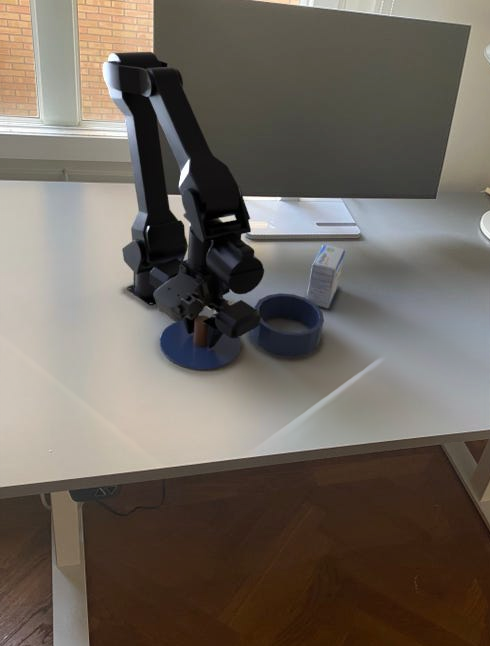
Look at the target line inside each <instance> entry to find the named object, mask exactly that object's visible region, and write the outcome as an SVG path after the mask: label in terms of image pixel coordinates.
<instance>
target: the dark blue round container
mask: <svg viewBox="0 0 490 646" xmlns="http://www.w3.org/2000/svg"><path fill="white" fill-rule="evenodd" d="M253 308H255V309H256V310H258V311H259V312H260V313H261V319H260V326H258V327H256V328H254V329H252V330H251V338H252V339H253V340H254V342H255V343H256V345H257V346H259V347H260V348H262V349H263V350H265V351H266V352H268V353H271V354H274V355H277V356H280V357H301V356H305V355H308V354H310V353H311V352H313V351H315V350H316V349H317V347H318V345H319V343H320V342H321V337H322V332H323V327H324V323H325V318H324V312H323V311H322V310H321V307H320V306H317V305H316V304H315V303H313V302H311V301H310V300H308V299H307V297H304V296H301V295H297V294H293V293H284V292H283V293H280V292H279V293H274V294H268V295H266V296H264V297H262V298H260V299H259V300H258V301H257V302H256V303H255V305H254V307H253ZM278 317H279V318H290V319H293V320H295V321H299V322H301V323H303V324H304V325H306V326H308V327H309V330H305V331H304V330H303V331H298V332H295V331H286V330H285V331H284V330H282V329H278V328H275V327H273V326H271V325H270V324H268V323H267V322H265V321H266V320H268V319H272V318H278Z"/></svg>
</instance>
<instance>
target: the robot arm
mask: <svg viewBox="0 0 490 646" xmlns="http://www.w3.org/2000/svg"><path fill="white" fill-rule="evenodd" d="M102 74H103V79H104V82H105V84H106V86H107V89H108V93H109V98H110V99H111V101H112V102H113V103H114V105H115V106H116V107H117V108H118V110H119V111H120V112H121V114H122V115H123V117H124V122H125V129H126V134H127V136H126V137H127V142H128V149H129V155H130V162H131V168H132V175H133V181H134V187H135V195H136V202H137V209H138V211H137V213H136V217H135V218H134V221H133V223H132V226H131V228H130V230H131V231H130V233H131V241H130V242H129V243H128V244H126V245H125V246H123V248H122V249H121V251H122V257H123V261H124V263H125V264H126V265H127V267H128V268H129V269H131V271H132V272H133V274H132V275H133V279H132V280H133V283H132V284H131V285H129V286H126V288H125V289H126V291H128V292H129V293H131V294H132V295H134V296H135V297H137V298H138V299H140V300H141V301H143V302H144V303H146V305H149V306H154V305H156V306H157V309H158V310H159V311H160V313H162V314H164V315H166V316H167V317H169V318H170V319H171V320H172V321H174V322H177V321H181V320H183V321H184V324H185V327H186V330H187V333H188V334H191V333H193V332H194V323H195V318H196V317H197V316H200V314H201V313H202V312H203V311H204V309H205V308H206V309H208V310H209V311H213V313H212V316H210V317H209V318H208V319H206V320H204V321H203V322H204V323H205V324H207V325H208V348H212V347H214V346H215V345H216V343H217V342H218V340H219V339H220V338H221V336H222V335H223V333H224V334H225V335H227V336H228V337H230V338H238V337H239V338H240V337H242V336H244V335H246V334H248V333H249V332H252V329H254V328H256V327H258V326H260V319H261V313H260V312H259V311H258V310H256V309H255V308H254V307H253V306H251V305H250V304H249V303H247V302H245V301H244V300H242V299H239V300H238V301H234V300H232V299H225V298H224V296H225V295H226V294H228V293H230V292H232V293H234V294H236V295H246V294H248V293H250V292H252V291H253V290H255V289H256V288H257V287H258V286H259V285H260V283H261V282H262V280H263V278H264V275H265V269H264V264H263V263H262V261H261V260H260V259H259V258H258V257H257V256H256V255H255V249H254V248H252V246H251V245H249V244H247V243H246V242H244V240H242V235H244V234H249V233H251V231H252V229H251V225H250V220H251V216H250V214H249V211H248V208H247V205H246V201H245V199H244V196H243V192H242V188H241V187H240V184H239V183H238V181H237V180H236V178H235V176H234V174H233V173H232V172H231V170H230V168H229V166H228V165H227V164H225V163H224V162H223V161H222V160H220V159H219V158H217V157H216V156H215V155H214V153H213V151H212V150H211V149H210V146H209V143H208V141H207V139H206V137H205V135H204V132H203V130H202V128H201V125H200V123H199V121H198V118H197V117H196V114H195V112H194V109H193V108H192V106H191V103H190V101H189V98H188V96H187V94H186V91H185V89H184V81H183V80H184V79H183V76H182V74H181V72H180V70H179V69H178V68H176V67H172V63H171V62H168V61H166V60H162V59H158V57H157V56H156V54H155V53H154V52H152V51H134V52H133V51H132V52H131V51H130V52H112V53H110V54H109V56H108V59H107V61H104V62H103V64H102ZM159 124H160V126H161V128H162V130H163V133H164V135H165V137H166V140H167V142H168V145H169V146H170V149H171V151H172V153H173V155H174V158H175V159H176V162H177V165H178V168H179V171H180V178H179V183H178V191H179V193H180V196H181V203H182V206H183V209H184V212H183V217H184V219H185V220H187V222H189V226H188V227H189V228H188V230H189V231H188V240H187V237H186V231H185V223H184V222H183V221H182V220H179V219H178V217H176V215H175V214H174V213H173V211H172V210H171V208H170V207H171V206H170V199H169V193H168V186H167V180H166V179H167V178H166V171H165V165H164V155H163V149H162V144H161V143H162V142H161V134H160V128H159ZM232 216H234V218H235V219H233V220H229V221H227V220H226V221H223V220H221V219H222V218H228V217H232ZM186 254H187V259H185V257H186Z"/></svg>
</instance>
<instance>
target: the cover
mask: <svg viewBox="0 0 490 646" xmlns="http://www.w3.org/2000/svg"><path fill="white" fill-rule="evenodd" d="M208 318H210V317H209V316H207V315H203V314H201V315H200V314H199V316H197V317H196V318H195V323H194V332H193V333H191V334H188V333H187V330H186V327H185V324H184V321H183V320H181V321H174V322H173V323H171V324H169V325H168V326H167V327H165V328H164V330H163V331H162V332H161V335H160V336H159V348H160V351H161V353H162V354H163V355H164V356H165V358H166V359H167V360H169V361H170V362H172V363H173V364H175V365H177V366H179V367H182V368H185V369H189V370H194V371H213V370H218V369H221V368H224V367H226V366H228V365H230V364H231V363H233V362H234V361H235V360H236V359H237V358H238V357H239V355H240V353H241V349H242V343H241V339H240V337H238V338H230V337H228V336H227V335H225V334H224V333H223V335H222V336H221V338H220V339H219V340H218V342H217V343H216V345H215V346H214V347H212V348H208V325H207V324H205V323H204V322H203V321H204V320H206V319H208Z"/></svg>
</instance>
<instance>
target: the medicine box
mask: <svg viewBox="0 0 490 646" xmlns="http://www.w3.org/2000/svg"><path fill="white" fill-rule="evenodd" d="M345 254H346V250H345V249H343V248H339V247H336V246H332V245H329V244H322V246H321V248H320V250H319V252H318V254H317V255H316V258H315V259H314V262H313V263H312V264H311V270H310V275H309V282H308V287H307V292H306V299H308V300H310V301H311V302H313V303H315V304H316V305H317V306H318V307H319V308H324V309H330V306H331V303H332V302H333V300H334V297H335V294H336V292H337V290H338V287H339V284H340V283H339V282H340V278H341V274H342V273H341V272H342V268H343V263H344V259H345Z"/></svg>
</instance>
